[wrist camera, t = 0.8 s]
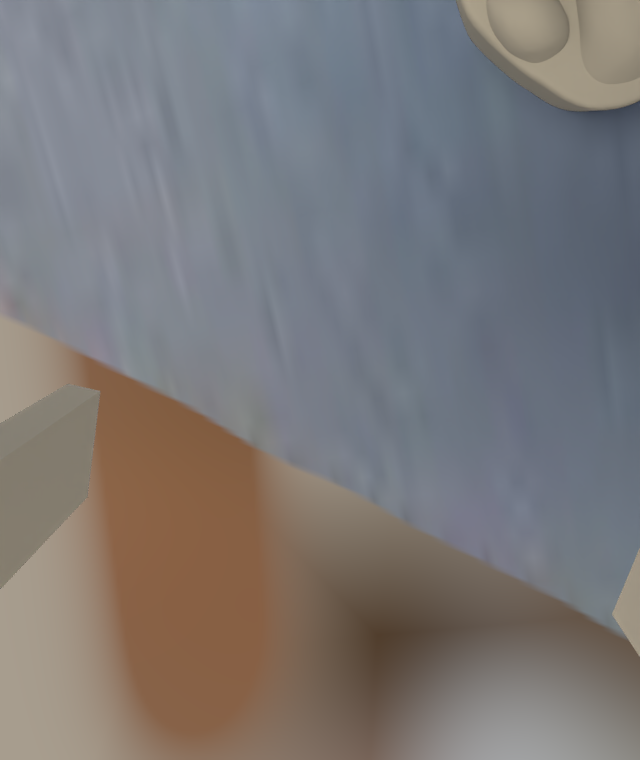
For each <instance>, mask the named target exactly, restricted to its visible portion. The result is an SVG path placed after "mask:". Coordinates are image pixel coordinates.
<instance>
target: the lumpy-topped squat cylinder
mask: <svg viewBox="0 0 640 760" xmlns="http://www.w3.org/2000/svg"><path fill="white" fill-rule="evenodd" d="M456 3H457V6H458V9H459V12H460V15H461V18H462V21H463V24H464V26H465V29H466V31H467V33H468V35H469V37H470V39H471V40H472V41H473V43H474V44H475V45H476V46H477V47H478V48H479V50H480V51H481V52H482V53H483V54H484V55H485V56H486V57H487V58H488V59H489V60H490V61H492V62H493V63H494V64H495V65H496V66H497V67H498V68H499V69H500V70H501V71H503V72H504V73H505V74H506V75H507V76H509V77H510V78H511V79H512V80H514V81H515V82H516V83H518V84H519V85H520V86H522V87H523V88H525V89H527V90H528V91H530V92H531V93H533V94H534V95H536V96H537V97H539V98H540V99H542V100H543V101H545V102H547V103H548V104H550V105H552V106H555V107H557V108H560V109H564V110H568V111H599V110H611V109H617V108H622V107H625V106H628V105H631V104H634V103H636V102H638V101H640V0H456Z"/></svg>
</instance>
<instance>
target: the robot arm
mask: <svg viewBox="0 0 640 760" xmlns="http://www.w3.org/2000/svg"><path fill="white" fill-rule="evenodd" d="M99 397H100V391H97V390H93V389H88V388H84V387H79V386H75V385H70V384H67V385H65V386H63V387H62V388H60V389H58V390H57V391H55V392H53V393H51V394H50V395H48V396H46V397H45V398H43V399H41V400H39V401H38V402H36V403H34V404H33V405H31V406H29V407H27V408H26V409H24V410H23V411H21V412H19V413H17V414H15V415H14V416H12V417H10V418H9V419H7V420H5V421H4V422H2V423H0V589H1V588H2V587H3V586H4V585H5V584H6V583H7V582H8V580H9V579H10V578H11V577H12V576H13V575H14V574H15V573H16V572H17V571H18V570H19V569H20V568H21V567H22V566H23V565H24V563H26V561H27V560H28V559H29V558H30V557H31V556H32V555H33V554H34V553H35V552H36V551H37V550H38V549H39V548H40V547H41V546H42V545H43V543H44V542H45V541H46V540H47V539H48V538H49V537H50V536H51V535H52V534H53V533H54V532H55V531H56V530H57V529H58V528H59V527H60V526H61V524H62V523H63V522H64V521H65V520H66V519H67V518H68V517H69V516H70V515H71V514H72V513H73V512H74V511H75V510H76V509H77V508H78V506H79V505H80V504H81V503H82V502H83V501H84V500H85V499H86V498H87V496H88V488H89V487H88V486H89V480H90V471H91V463H92V455H93V447H94V438H95V430H96V421H97V413H98V406H99ZM612 615H613V617H614V618H615V620H616V621H617V623H618V624H619V626H620V627H621V629H622V630H623V632H624V633H625V635H626V636H627V638H628V639H629V641H630V642H631V644H632V646H633V647H634V648H635V650H636V652H637V653H638V655H639V656H640V549H639V551H638V554H637V556H636V558H635V561H634V563H633V566H632V568H631V570H630V573H629V575H628V578H627V580H626V582H625V585H624V587H623V590H622V592H621V594H620V597H619V599H618V602H617V604H616V606H615V609H614V611H613V613H612Z"/></svg>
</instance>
